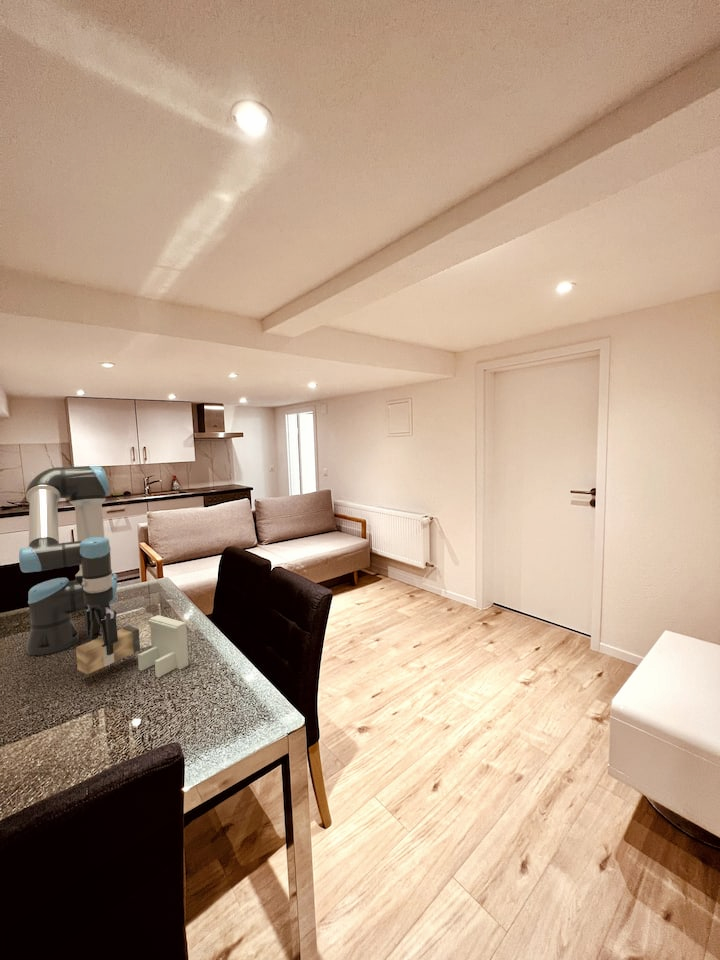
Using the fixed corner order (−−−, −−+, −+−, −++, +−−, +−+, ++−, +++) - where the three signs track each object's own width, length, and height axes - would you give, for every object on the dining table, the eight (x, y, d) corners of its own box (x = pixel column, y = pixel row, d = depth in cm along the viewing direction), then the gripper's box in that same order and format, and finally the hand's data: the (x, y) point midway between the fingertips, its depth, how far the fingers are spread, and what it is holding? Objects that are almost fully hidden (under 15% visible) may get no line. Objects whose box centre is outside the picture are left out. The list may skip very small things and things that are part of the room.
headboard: (134, 668, 128) (131, 625, 127) (160, 655, 136) (158, 615, 135) (162, 679, 121) (160, 634, 120) (188, 665, 129) (185, 622, 128)
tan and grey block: (87, 674, 118) (86, 651, 118) (77, 669, 121) (75, 646, 120) (140, 650, 132) (138, 628, 131) (129, 645, 135) (128, 625, 134)
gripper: (68, 587, 124) (74, 659, 126) (102, 598, 115) (108, 675, 117) (94, 580, 130) (99, 648, 133) (128, 590, 121) (133, 663, 124)
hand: (103, 661), depth 125 cm, fingers closed on tan and grey block, 5 cm apart
